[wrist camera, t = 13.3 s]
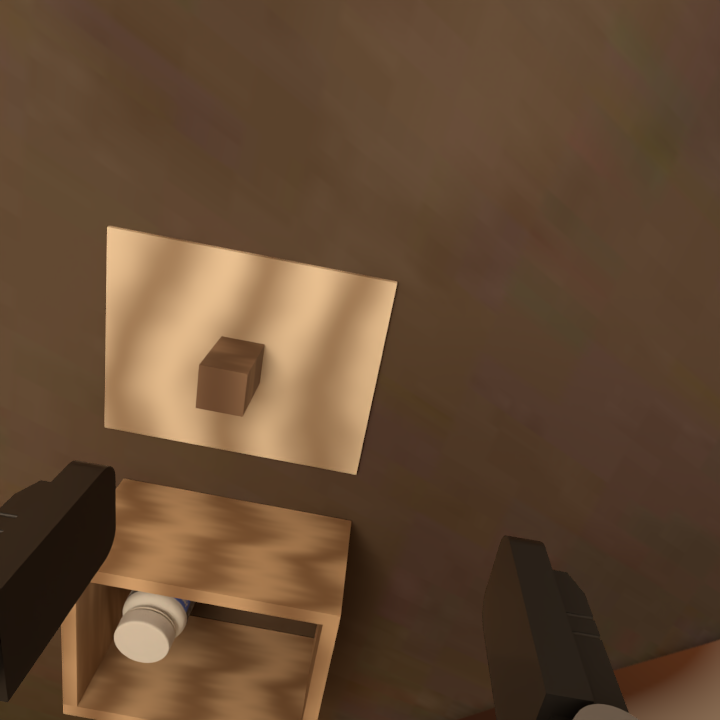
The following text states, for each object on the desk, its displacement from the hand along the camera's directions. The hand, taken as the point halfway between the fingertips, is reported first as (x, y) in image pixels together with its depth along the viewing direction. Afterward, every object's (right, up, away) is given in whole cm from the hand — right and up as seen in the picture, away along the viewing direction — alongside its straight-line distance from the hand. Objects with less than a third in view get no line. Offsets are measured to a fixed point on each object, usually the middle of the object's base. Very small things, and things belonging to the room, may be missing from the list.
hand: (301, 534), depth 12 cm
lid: (-7, +4, +30) cm, 31 cm away
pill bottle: (-13, -13, +37) cm, 41 cm away
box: (-10, -14, +37) cm, 40 cm away
